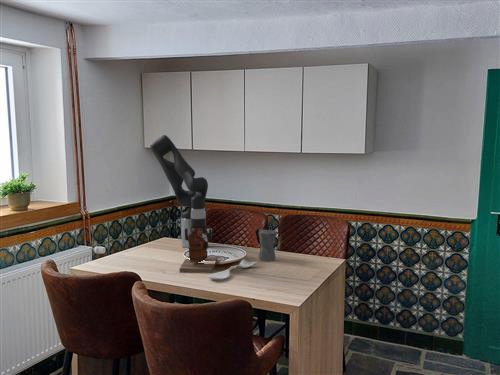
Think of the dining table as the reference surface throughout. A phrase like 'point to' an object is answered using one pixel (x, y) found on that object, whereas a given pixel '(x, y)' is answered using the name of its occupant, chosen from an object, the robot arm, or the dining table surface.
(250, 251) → the dining table surface
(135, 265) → the dining table surface
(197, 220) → the robot arm
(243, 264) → the spoon
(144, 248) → the dining table surface
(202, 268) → the walnut board
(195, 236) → the wooden figurine
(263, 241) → the coffeepot
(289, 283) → the dining table surface
